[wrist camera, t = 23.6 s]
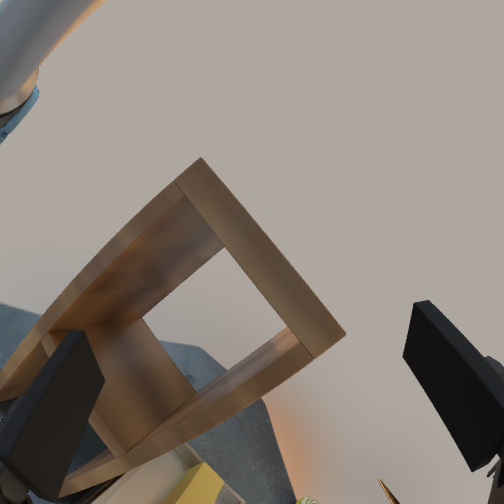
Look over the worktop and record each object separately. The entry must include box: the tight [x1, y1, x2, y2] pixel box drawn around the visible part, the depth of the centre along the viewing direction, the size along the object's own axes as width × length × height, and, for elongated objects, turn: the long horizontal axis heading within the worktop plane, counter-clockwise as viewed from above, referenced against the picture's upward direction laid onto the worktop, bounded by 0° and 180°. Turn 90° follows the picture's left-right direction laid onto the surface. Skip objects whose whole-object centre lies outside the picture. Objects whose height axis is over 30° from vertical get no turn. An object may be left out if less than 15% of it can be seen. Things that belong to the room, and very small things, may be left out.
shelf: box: [0, 157, 346, 499], centre depth 23 cm, size 14×12×30 cm
